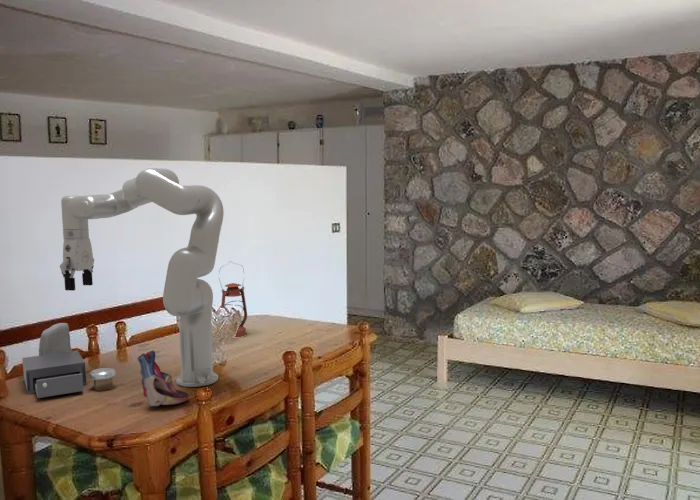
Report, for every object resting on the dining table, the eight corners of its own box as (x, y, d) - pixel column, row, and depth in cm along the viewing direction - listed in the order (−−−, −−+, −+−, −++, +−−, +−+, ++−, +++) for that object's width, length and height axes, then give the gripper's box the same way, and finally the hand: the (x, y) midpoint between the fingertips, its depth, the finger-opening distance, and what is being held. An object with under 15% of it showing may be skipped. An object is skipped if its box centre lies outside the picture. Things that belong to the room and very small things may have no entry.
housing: (86, 384, 196) (84, 362, 195) (27, 393, 188) (26, 370, 187) (78, 371, 209) (77, 350, 209) (23, 379, 201) (22, 357, 201)
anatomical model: (185, 410, 173) (183, 355, 171) (137, 411, 172) (134, 357, 170) (191, 398, 182) (188, 346, 181) (145, 400, 181) (143, 348, 180)
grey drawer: (83, 391, 186) (82, 374, 186) (37, 398, 180) (36, 381, 180) (76, 377, 200) (75, 361, 199) (33, 384, 194) (32, 367, 193)
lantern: (241, 339, 250) (238, 262, 247) (216, 338, 252) (213, 262, 249) (250, 333, 260) (247, 259, 256) (226, 332, 262) (223, 259, 258)
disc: (117, 377, 191) (117, 372, 191) (92, 381, 187) (91, 376, 187) (112, 371, 197) (112, 366, 197) (88, 375, 193) (88, 370, 193)
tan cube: (112, 388, 192) (112, 377, 191) (96, 391, 190) (96, 379, 189) (109, 384, 196) (109, 373, 195) (94, 386, 193) (93, 375, 193)
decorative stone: (45, 373, 208) (42, 328, 206) (34, 370, 211) (31, 326, 210) (75, 365, 217) (73, 321, 216) (64, 362, 220) (62, 319, 219)
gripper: (71, 237, 195) (74, 292, 197) (101, 232, 212) (104, 283, 214) (48, 237, 196) (52, 292, 198) (80, 232, 213) (83, 283, 215)
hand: (79, 287), depth 206 cm, fingers open, 9 cm apart
